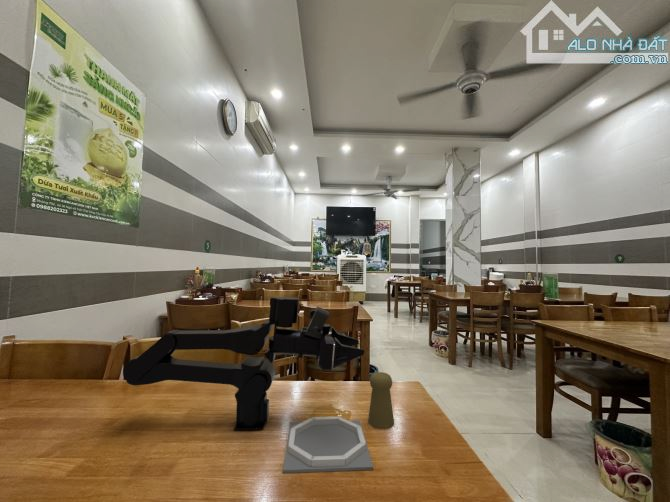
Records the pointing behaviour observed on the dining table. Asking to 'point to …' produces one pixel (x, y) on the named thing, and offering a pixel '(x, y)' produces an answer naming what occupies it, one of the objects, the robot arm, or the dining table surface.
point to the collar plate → (326, 446)
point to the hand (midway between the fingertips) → (361, 346)
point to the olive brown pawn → (381, 401)
